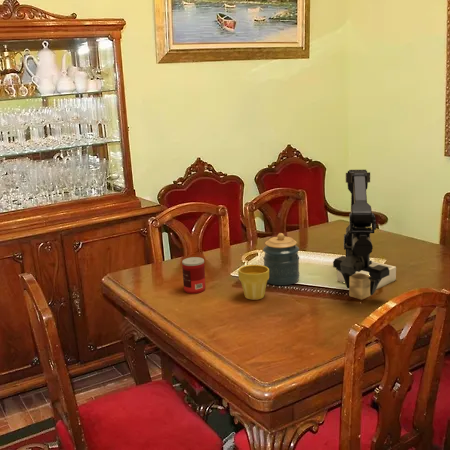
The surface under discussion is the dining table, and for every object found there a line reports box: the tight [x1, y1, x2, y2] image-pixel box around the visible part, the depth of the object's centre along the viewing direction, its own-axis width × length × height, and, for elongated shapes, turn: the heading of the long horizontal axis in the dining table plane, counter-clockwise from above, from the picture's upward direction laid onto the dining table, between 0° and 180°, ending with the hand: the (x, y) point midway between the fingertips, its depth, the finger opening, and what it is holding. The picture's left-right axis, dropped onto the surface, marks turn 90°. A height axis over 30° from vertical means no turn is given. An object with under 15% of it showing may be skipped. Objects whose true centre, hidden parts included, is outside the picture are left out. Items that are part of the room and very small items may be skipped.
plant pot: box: [237, 264, 269, 301], centre depth 198 cm, size 10×10×10 cm
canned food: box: [181, 256, 206, 295], centre depth 206 cm, size 8×8×11 cm
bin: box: [336, 260, 397, 290], centre depth 209 cm, size 15×15×5 cm
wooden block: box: [348, 273, 372, 301], centre depth 195 cm, size 5×5×7 cm
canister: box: [262, 232, 300, 286], centre depth 212 cm, size 13×13×18 cm
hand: (360, 291), depth 196 cm, fingers open, 9 cm apart
